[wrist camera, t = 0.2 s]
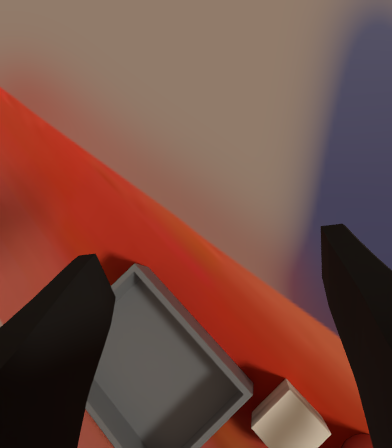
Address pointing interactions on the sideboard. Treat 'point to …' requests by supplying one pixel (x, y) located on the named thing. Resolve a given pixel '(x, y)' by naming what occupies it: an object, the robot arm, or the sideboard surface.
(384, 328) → the robot arm
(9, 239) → the sideboard surface
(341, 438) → the sideboard surface
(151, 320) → the tote
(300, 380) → the sideboard surface
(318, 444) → the cube
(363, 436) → the capsule
